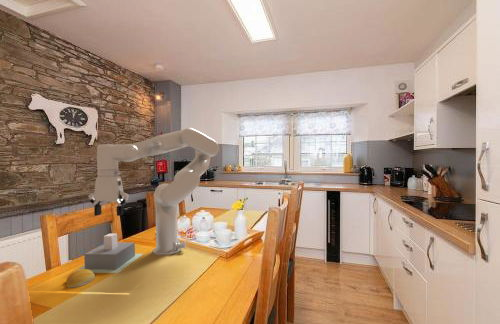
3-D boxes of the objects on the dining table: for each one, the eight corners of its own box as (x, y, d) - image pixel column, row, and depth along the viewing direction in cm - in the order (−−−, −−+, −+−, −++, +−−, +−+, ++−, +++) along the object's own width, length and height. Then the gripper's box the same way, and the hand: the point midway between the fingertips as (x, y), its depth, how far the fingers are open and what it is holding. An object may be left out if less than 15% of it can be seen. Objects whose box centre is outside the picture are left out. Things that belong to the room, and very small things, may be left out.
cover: (135, 255, 105) (134, 230, 105) (116, 269, 92) (115, 240, 92) (107, 255, 106) (106, 230, 106) (84, 269, 93) (83, 240, 93)
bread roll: (67, 292, 78) (67, 280, 78) (65, 282, 85) (65, 270, 85) (97, 283, 83) (96, 272, 83) (93, 274, 90) (92, 263, 90)
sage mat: (143, 254, 107) (143, 253, 107) (118, 274, 89) (118, 272, 89) (106, 254, 109) (106, 253, 109) (73, 273, 91) (73, 272, 91)
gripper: (133, 173, 101) (134, 213, 102) (95, 173, 103) (96, 213, 103) (122, 174, 94) (123, 217, 94) (81, 174, 95) (82, 217, 96)
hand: (109, 215), depth 99 cm, fingers open, 9 cm apart
